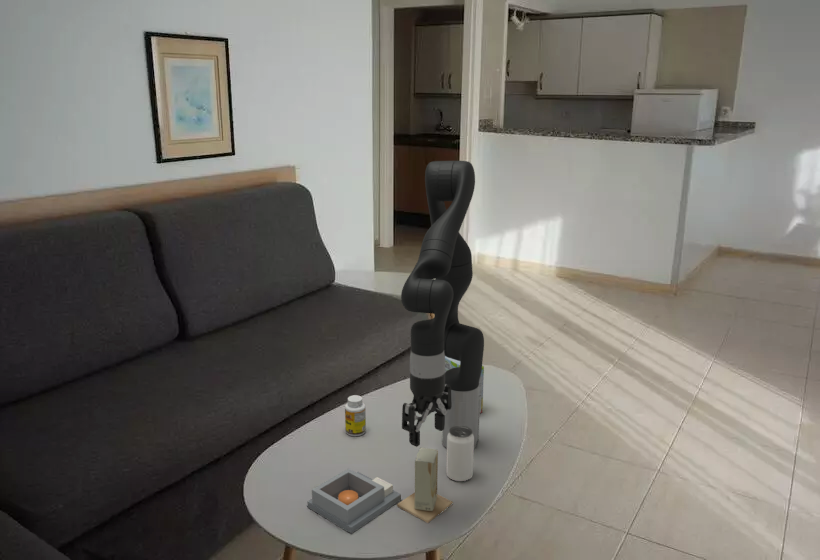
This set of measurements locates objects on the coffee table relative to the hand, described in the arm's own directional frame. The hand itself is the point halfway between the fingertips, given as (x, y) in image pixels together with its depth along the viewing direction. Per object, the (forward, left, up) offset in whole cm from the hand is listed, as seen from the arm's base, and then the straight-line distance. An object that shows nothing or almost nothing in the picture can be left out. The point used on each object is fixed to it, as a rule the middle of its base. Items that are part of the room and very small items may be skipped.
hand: (427, 437), depth 146 cm
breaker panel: (+10, -13, -17) cm, 24 cm away
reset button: (+12, -13, -17) cm, 25 cm away
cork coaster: (0, 0, -17) cm, 17 cm away
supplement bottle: (-13, -36, -18) cm, 42 cm away
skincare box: (0, 0, -17) cm, 17 cm away
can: (-15, -2, -18) cm, 23 cm away
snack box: (-45, -27, -18) cm, 55 cm away
